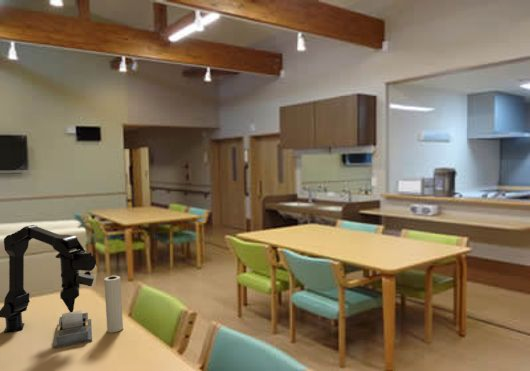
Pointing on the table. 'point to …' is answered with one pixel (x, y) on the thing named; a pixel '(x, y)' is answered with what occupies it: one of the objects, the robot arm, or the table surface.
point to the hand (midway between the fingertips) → (71, 308)
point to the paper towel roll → (113, 303)
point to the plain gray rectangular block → (72, 320)
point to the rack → (73, 333)
